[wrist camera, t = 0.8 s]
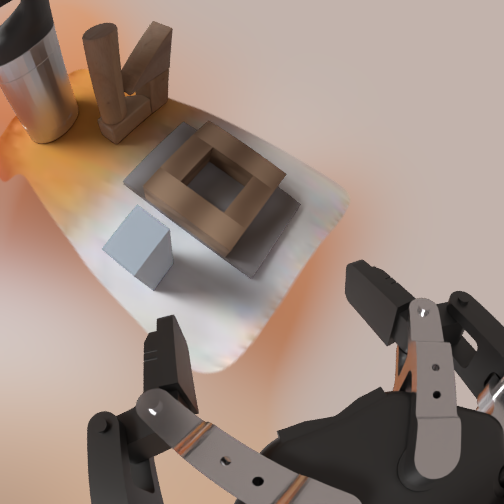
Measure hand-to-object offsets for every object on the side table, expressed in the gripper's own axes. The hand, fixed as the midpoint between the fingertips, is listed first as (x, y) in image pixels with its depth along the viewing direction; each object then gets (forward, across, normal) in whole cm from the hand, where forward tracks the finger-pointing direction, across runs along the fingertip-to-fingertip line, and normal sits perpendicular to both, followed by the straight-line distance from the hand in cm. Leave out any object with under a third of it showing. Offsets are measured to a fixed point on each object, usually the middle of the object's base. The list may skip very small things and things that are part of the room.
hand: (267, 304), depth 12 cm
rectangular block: (+19, +8, +7) cm, 22 cm away
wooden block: (+33, +8, -11) cm, 36 cm away
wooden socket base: (+25, -1, +2) cm, 25 cm away
